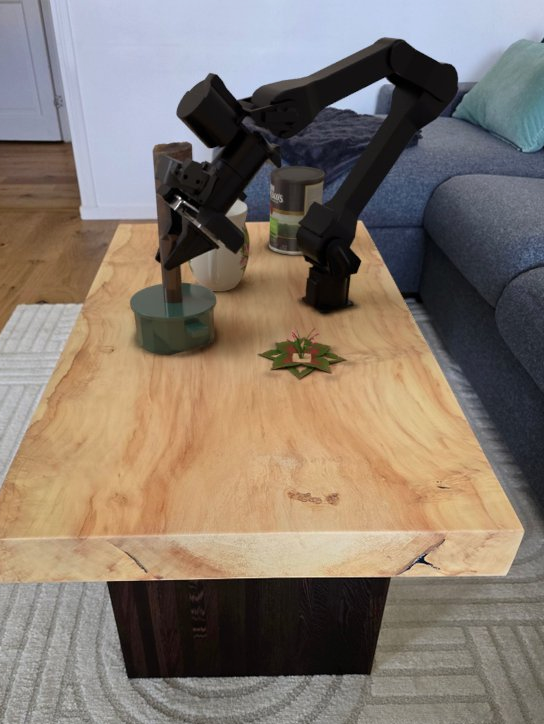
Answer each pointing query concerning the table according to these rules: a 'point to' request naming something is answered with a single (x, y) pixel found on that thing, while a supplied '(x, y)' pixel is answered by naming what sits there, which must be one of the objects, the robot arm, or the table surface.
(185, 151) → the candle
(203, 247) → the robot arm
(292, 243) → the coffee can
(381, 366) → the table surface
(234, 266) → the pitcher
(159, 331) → the pot
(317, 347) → the lily flower
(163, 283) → the lid
